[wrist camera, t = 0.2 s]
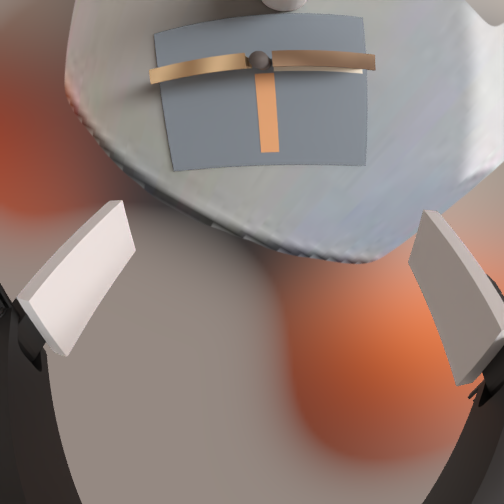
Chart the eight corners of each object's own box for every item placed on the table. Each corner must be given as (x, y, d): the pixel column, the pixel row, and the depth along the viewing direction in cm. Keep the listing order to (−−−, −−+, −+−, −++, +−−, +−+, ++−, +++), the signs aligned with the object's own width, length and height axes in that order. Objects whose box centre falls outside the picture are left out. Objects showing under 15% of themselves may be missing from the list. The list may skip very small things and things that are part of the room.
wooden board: (251, 57, 28) (244, 52, 23) (252, 70, 29) (245, 68, 24) (169, 69, 30) (149, 69, 25) (171, 82, 31) (150, 84, 26)
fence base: (254, 56, 28) (247, 51, 23) (360, 57, 27) (374, 53, 21) (256, 70, 30) (249, 68, 24) (360, 72, 28) (375, 71, 22)
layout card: (155, 34, 27) (153, 33, 27) (361, 18, 24) (362, 17, 23) (175, 170, 39) (173, 171, 39) (364, 164, 35) (365, 165, 35)
